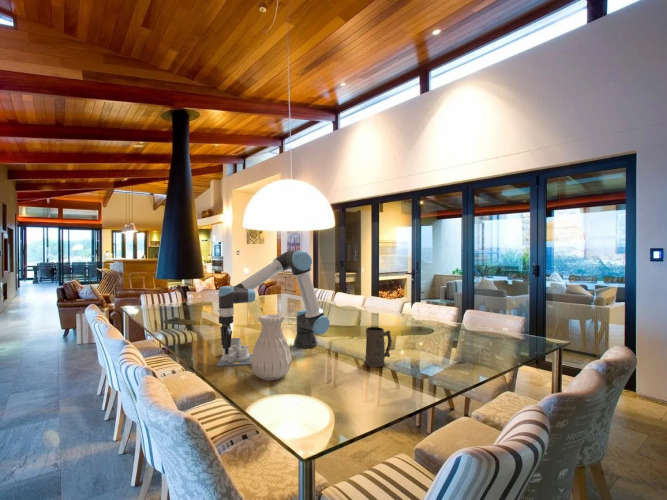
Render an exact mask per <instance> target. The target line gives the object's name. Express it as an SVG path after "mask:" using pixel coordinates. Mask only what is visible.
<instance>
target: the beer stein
mask: <svg viewBox="0 0 667 500" xmlns="http://www.w3.org/2000/svg"><path fill="white" fill-rule="evenodd" d="M365 329H366V330H365V334H366V336H365V337H366V339H365V340H366V341H365V342H366V343H365V358H364V359H365V361H364V364H365V365H366V366H369V367H373V368H374V367H375V368H378V367H379V368H380V367H383V366H385V358H386V357H387V358H391V354H390V350H391V347H392V342H393V341H392V336H391V331H390V330H386V331H385V329H384V328H383V327H377V326H369V327H366V328H365ZM385 337H387V346H386V350H385Z"/></svg>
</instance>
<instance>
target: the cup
mask: <svg viewBox="0 0 667 500" xmlns="http://www.w3.org/2000/svg"><path fill="white" fill-rule="evenodd" d="M233 345H239V346H241V345H242V339H241V338H240V337H233V338H232V337H231V346H233Z"/></svg>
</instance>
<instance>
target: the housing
mask: <svg viewBox="0 0 667 500" xmlns="http://www.w3.org/2000/svg"><path fill="white" fill-rule="evenodd" d="M240 348H242V347H235V348H234V349H235V351H237V349H240ZM252 356H253V353H250V352H248V354H247V355H245V356H241V357H237V358H236V359H235V360H234V361H233V362H228V360H225V361H224V360H223V354H222V355H221V357H220V359H219V360H218V362H217V364H216V367H217V368H220V367H224V368H225V367H241V366H242V367H245V366H246V367H247V366H252V365H251V359H252Z"/></svg>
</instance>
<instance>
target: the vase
mask: <svg viewBox="0 0 667 500" xmlns="http://www.w3.org/2000/svg"><path fill="white" fill-rule="evenodd" d="M284 320H285V317H284V315H282V314H264V315H260V316H259V317H258V321H259V322H260V324H261V330H260V334H259V336H258V338H257V340H256V342H255V345H254V347H253V350H252V354H253V356H252V359H251V365H250V366H251V368H252V371H253V373H254V375H255V376H256V377H258V378H260V380H261V379H262V380H263V381H268V382H269V381H277V380H280V379H281V378H282V379H283V377H284V376H286V375H287V374H288V373H289V371H290V368H291V364H292V361H293V359H292V355H291V352H290V351H291V350H290V346H289V344H288V342H287V339H286V337H285V336H284V333H283V330H282V323H283V322H284Z"/></svg>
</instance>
